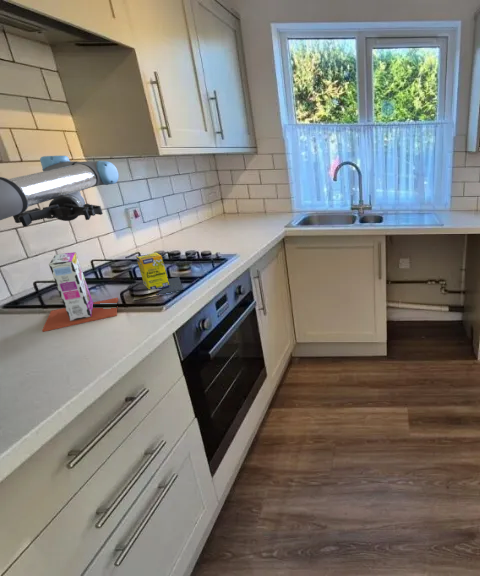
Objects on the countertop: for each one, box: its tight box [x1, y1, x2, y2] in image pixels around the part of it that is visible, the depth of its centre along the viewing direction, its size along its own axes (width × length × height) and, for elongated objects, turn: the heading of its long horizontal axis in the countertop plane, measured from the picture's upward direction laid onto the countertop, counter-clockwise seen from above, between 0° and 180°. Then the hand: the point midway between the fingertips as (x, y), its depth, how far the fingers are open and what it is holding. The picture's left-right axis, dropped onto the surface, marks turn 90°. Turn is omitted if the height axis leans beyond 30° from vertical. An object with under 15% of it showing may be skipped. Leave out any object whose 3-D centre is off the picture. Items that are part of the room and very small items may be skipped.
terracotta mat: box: [41, 297, 119, 333], centre depth 103 cm, size 16×14×1 cm
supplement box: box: [135, 252, 170, 289], centre depth 118 cm, size 6×6×11 cm
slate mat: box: [156, 276, 185, 295], centre depth 120 cm, size 14×14×1 cm
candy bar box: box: [48, 251, 94, 321], centre depth 100 cm, size 11×5×16 cm, turn 34°
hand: (55, 218), depth 101 cm, fingers open, 13 cm apart
